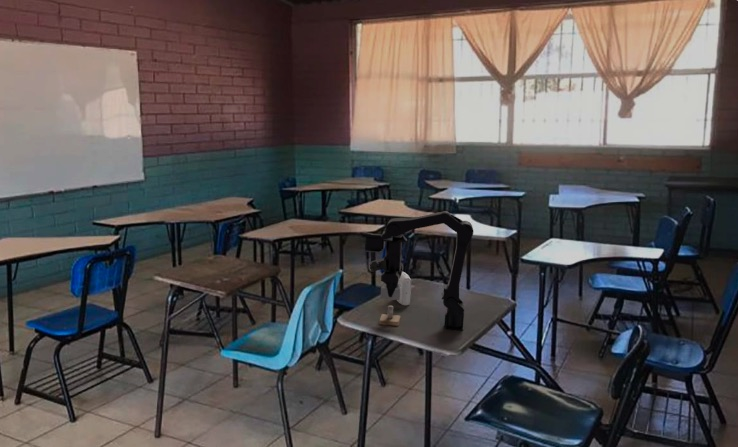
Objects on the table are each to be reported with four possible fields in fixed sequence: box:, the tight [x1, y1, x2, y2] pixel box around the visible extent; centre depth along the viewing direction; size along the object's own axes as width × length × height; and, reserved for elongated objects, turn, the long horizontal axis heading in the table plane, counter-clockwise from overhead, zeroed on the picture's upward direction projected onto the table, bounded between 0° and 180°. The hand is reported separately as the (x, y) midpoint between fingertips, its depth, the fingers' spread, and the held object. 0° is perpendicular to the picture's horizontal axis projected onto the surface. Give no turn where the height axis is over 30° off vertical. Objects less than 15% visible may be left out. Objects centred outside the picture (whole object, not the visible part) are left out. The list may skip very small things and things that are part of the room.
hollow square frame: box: [380, 282, 402, 301], centre depth 231 cm, size 7×7×4 cm
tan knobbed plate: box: [379, 305, 401, 327], centre depth 233 cm, size 7×7×6 cm
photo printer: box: [396, 271, 412, 306], centre depth 256 cm, size 10×4×12 cm, turn 17°
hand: (391, 294), depth 231 cm, fingers closed on hollow square frame, 7 cm apart
